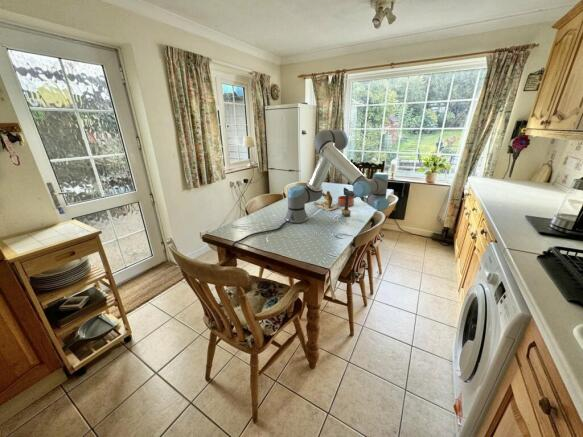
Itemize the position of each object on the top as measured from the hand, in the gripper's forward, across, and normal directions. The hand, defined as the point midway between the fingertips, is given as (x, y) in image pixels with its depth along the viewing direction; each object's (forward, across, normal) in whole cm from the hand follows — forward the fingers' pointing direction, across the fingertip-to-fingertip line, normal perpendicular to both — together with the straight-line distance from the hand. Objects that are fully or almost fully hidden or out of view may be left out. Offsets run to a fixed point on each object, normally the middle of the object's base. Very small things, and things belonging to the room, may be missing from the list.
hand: (353, 188), depth 155 cm
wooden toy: (+33, -9, -22) cm, 41 cm away
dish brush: (+10, 0, -22) cm, 24 cm away
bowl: (+35, +10, -22) cm, 43 cm away
